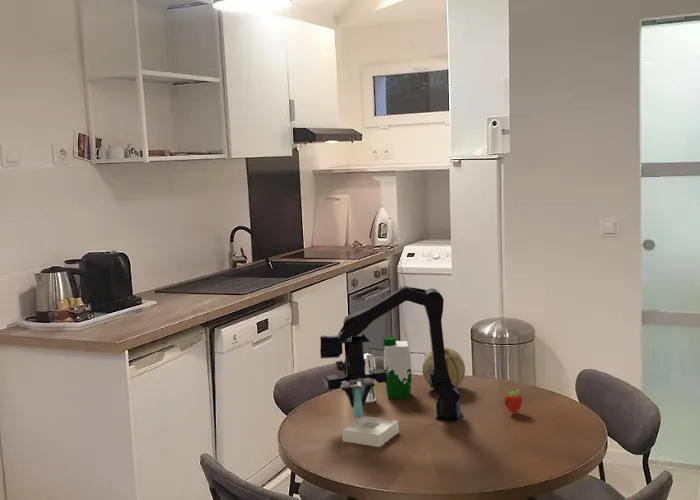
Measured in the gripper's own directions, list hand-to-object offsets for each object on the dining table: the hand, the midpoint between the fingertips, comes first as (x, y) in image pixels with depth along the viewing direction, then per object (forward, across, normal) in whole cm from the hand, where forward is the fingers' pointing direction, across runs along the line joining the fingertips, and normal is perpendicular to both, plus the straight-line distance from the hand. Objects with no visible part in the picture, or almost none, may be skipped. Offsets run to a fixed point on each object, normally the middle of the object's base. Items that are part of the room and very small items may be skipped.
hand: (357, 406), depth 226 cm
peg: (+3, 0, 0) cm, 3 cm away
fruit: (+6, -46, +12) cm, 48 cm away
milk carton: (+5, -20, -20) cm, 29 cm away
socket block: (+5, 0, +13) cm, 14 cm away
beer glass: (+5, -9, -20) cm, 22 cm away
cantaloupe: (+6, -36, -19) cm, 41 cm away
